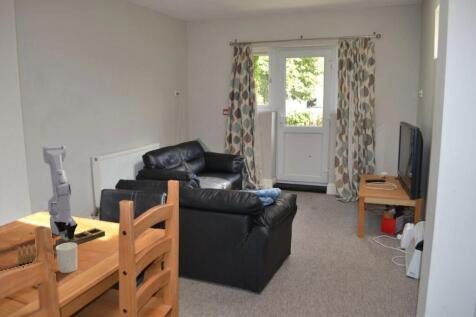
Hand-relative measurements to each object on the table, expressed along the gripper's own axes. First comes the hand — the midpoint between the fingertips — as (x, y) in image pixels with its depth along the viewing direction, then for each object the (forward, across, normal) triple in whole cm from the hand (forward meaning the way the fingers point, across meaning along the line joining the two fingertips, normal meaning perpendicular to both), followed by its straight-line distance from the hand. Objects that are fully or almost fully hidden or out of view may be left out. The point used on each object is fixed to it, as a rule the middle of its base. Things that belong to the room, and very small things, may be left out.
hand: (66, 237), depth 190 cm
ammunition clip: (+4, +18, -24) cm, 30 cm away
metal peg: (+3, 0, 0) cm, 4 cm away
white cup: (+4, +26, -14) cm, 29 cm away
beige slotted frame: (+3, 0, +7) cm, 8 cm away
